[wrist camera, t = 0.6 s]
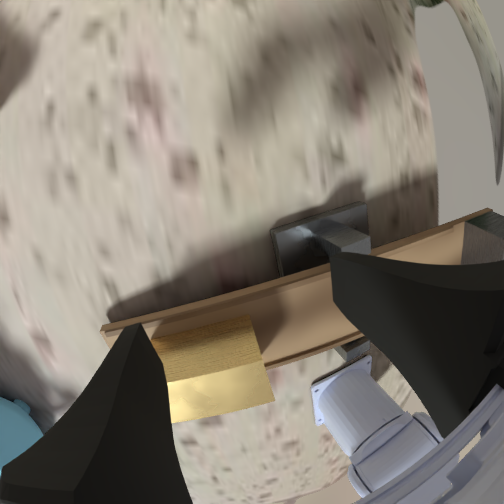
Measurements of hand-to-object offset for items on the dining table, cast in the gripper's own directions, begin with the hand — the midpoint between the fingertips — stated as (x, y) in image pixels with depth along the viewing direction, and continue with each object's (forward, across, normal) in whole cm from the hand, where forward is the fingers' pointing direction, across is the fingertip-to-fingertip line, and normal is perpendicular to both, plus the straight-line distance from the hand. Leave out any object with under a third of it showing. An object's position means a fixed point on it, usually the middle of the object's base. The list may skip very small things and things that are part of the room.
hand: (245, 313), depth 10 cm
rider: (+7, +2, +7) cm, 11 cm away
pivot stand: (+10, -9, +7) cm, 15 cm away
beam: (+6, -9, +7) cm, 13 cm away
